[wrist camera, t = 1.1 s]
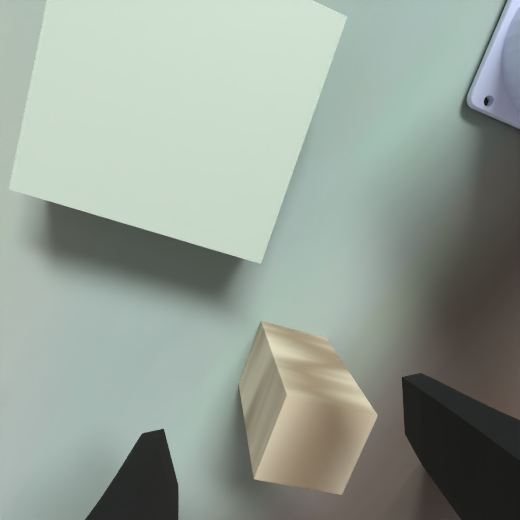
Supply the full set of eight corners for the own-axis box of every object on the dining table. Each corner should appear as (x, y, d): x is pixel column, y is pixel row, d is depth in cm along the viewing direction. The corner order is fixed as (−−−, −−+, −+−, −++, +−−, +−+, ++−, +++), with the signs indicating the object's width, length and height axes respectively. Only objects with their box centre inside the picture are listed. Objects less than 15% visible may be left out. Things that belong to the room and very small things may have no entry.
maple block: (326, 338, 23) (377, 415, 16) (302, 398, 24) (341, 494, 17) (261, 321, 22) (287, 394, 16) (238, 383, 23) (253, 479, 16)
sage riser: (317, 43, 19) (347, 16, 15) (250, 243, 21) (260, 264, 17) (99, -51, 17) (69, -111, 13) (48, 181, 19) (8, 189, 15)
